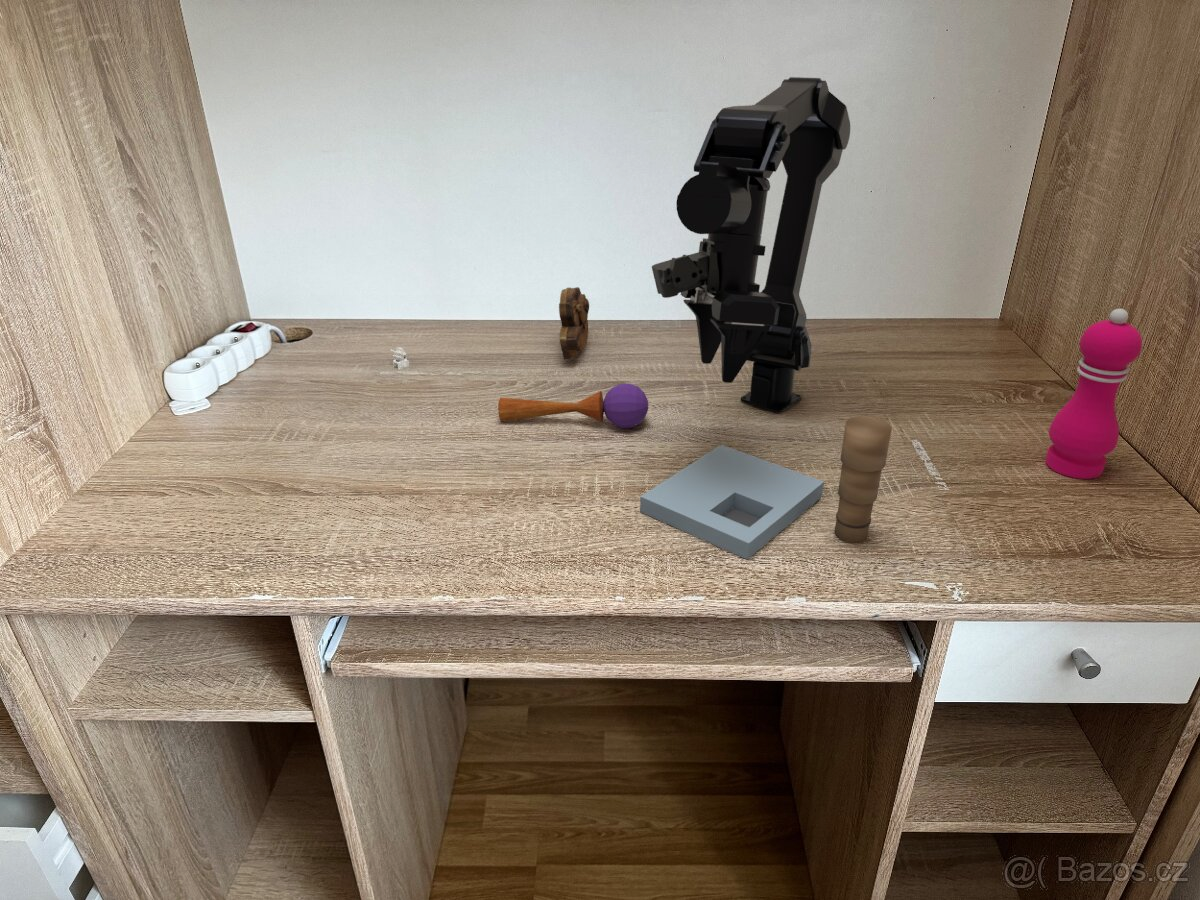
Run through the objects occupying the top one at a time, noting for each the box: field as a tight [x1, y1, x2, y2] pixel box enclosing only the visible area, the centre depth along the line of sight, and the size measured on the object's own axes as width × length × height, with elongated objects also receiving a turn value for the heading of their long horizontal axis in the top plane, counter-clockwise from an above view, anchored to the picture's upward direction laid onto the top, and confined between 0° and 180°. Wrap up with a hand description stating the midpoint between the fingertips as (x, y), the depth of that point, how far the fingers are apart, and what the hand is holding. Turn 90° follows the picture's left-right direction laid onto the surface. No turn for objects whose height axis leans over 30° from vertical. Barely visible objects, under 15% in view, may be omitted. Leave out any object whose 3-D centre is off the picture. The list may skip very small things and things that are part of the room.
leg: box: [834, 415, 893, 545], centre depth 85 cm, size 4×4×13 cm
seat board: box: [639, 444, 825, 560], centre depth 93 cm, size 16×14×2 cm
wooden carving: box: [558, 287, 590, 360], centre depth 134 cm, size 16×5×10 cm, turn 179°
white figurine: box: [390, 347, 410, 370], centre depth 131 cm, size 3×3×3 cm
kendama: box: [497, 383, 649, 429], centre depth 112 cm, size 6×6×20 cm
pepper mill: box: [1045, 308, 1143, 480], centre depth 96 cm, size 7×7×20 cm
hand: (716, 372), depth 95 cm, fingers open, 9 cm apart
